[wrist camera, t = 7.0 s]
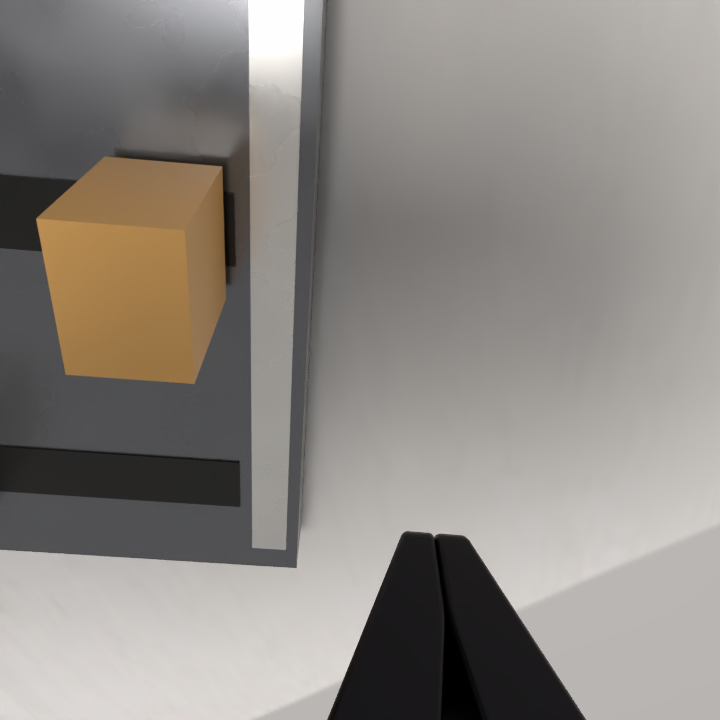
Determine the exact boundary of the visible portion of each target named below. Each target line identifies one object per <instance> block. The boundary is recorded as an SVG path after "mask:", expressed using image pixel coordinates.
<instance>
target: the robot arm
mask: <svg viewBox="0 0 720 720" xmlns="http://www.w3.org/2000/svg"><path fill="white" fill-rule="evenodd" d="M327 720H586V719H585V717H584V716H583V714H582V713H581V712H580V710H579V708H578V707H577V705H576V704H575V702H574V700H573V699H572V697H571V696H570V694H569V693H568V691H567V690H566V689H565V687H564V685H563V684H562V682H561V680H560V679H559V678H558V676H557V674H556V673H555V671H554V670H553V668H552V667H551V665H550V664H549V662H548V661H547V659H546V658H545V656H544V654H543V653H542V651H541V650H540V648H539V647H538V645H537V644H536V642H535V641H534V639H533V638H532V636H531V635H530V633H529V631H528V630H527V628H526V627H525V625H524V624H523V622H522V621H521V619H520V618H519V616H518V615H517V613H516V611H515V610H514V608H513V607H512V605H511V604H510V602H509V601H508V599H507V598H506V596H505V595H504V593H503V592H502V590H501V588H500V587H499V585H498V584H497V582H496V581H495V579H494V578H493V576H492V575H491V573H490V572H489V570H488V569H487V567H486V565H485V564H484V562H483V561H482V559H481V558H480V556H479V555H478V553H477V552H476V550H475V549H474V547H473V546H472V544H471V542H470V541H469V540H468V539H467V538H466V537H465V536H462V535H450V534H438V535H436V536H435V537H434V536H433V535H432V534H431V533H423V532H410V531H406V532H404V533H403V534H402V536H401V538H400V540H399V543H398V545H397V548H396V550H395V553H394V555H393V558H392V560H391V563H390V565H389V568H388V570H387V573H386V575H385V577H384V580H383V582H382V585H381V587H380V590H379V592H378V595H377V597H376V600H375V602H374V605H373V607H372V610H371V612H370V615H369V617H368V620H367V622H366V625H365V627H364V630H363V632H362V635H361V637H360V640H359V642H358V645H357V647H356V650H355V652H354V655H353V657H352V660H351V662H350V665H349V667H348V670H347V672H346V674H345V677H344V679H343V682H342V684H341V687H340V689H339V692H338V694H337V697H336V699H335V702H334V705H333V707H332V709H331V712H330V714H329V717H328V719H327Z"/></svg>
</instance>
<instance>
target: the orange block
mask: <svg viewBox="0 0 720 720" xmlns="http://www.w3.org/2000/svg"><path fill="white" fill-rule="evenodd" d="M36 221H37V226H38V231H39V236H40V242H41V247H42V252H43V258H44V263H45V268H46V273H47V279H48V284H49V289H50V295H51V300H52V305H53V310H54V316H55V321H56V326H57V332H58V337H59V342H60V347H61V353H62V358H63V363H64V369H65V374H66V375H77V376H91V377H105V378H119V379H132V380H146V381H160V382H174V383H188V384H195V381H196V378H197V376H198V373H199V370H200V368H201V365H202V362H203V360H204V357H205V354H206V351H207V349H208V346H209V343H210V341H211V338H212V335H213V333H214V330H215V327H216V325H217V322H218V319H219V317H220V314H221V311H222V308H223V306H224V303H225V300H226V275H225V241H224V206H223V172H222V166H211V165H199V164H187V163H176V162H164V161H152V160H140V159H128V158H116V157H104V158H103V159H102V160H100V161H99V162H98V163H97V164H96V165H95V166H94V167H93V168H92V169H90V170H89V171H88V172H87V173H86V174H85V175H84V176H83V177H82V178H80V179H79V180H78V181H77V182H76V183H75V184H74V185H73V186H72V187H70V188H69V189H68V190H67V191H66V192H65V193H64V194H63V195H62V196H61V197H59V198H58V199H57V200H56V201H55V202H54V203H53V204H52V205H51V206H49V207H48V208H47V209H46V210H45V211H44V212H43V213H42V214H41V215H39V216H38V217H37V218H36Z"/></svg>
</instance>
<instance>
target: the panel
mask: <svg viewBox="0 0 720 720" xmlns="http://www.w3.org/2000/svg"><path fill="white" fill-rule="evenodd" d="M326 12H327V0H0V550H16V551H32V552H48V553H64V554H80V555H96V556H112V557H129V558H145V559H161V560H177V561H193V562H209V563H225V564H241V565H257V566H273V567H289V568H296V566H297V557H298V548H299V539H300V530H301V513H302V493H303V473H304V453H305V433H306V412H307V392H308V372H309V352H310V332H311V312H312V292H313V272H314V252H315V232H316V212H317V192H318V172H319V152H320V132H321V112H322V92H323V72H324V52H325V32H326ZM104 157H116V158H128V159H140V160H152V161H164V162H176V163H187V164H199V165H211V166H222V172H223V206H224V241H225V275H226V300H225V303H224V306H223V308H222V311H221V314H220V317H219V319H218V322H217V325H216V327H215V330H214V333H213V335H212V338H211V341H210V343H209V346H208V349H207V351H206V354H205V357H204V360H203V362H202V365H201V368H200V370H199V373H198V376H197V378H196V381H195V384H188V383H174V382H160V381H146V380H132V379H119V378H105V377H91V376H77V375H66V374H65V369H64V363H63V358H62V353H61V347H60V342H59V337H58V332H57V326H56V321H55V316H54V310H53V305H52V300H51V295H50V289H49V284H48V279H47V273H46V268H45V263H44V258H43V252H42V247H41V242H40V236H39V231H38V226H37V221H36V218H37V217H38V216H39V215H41V214H42V213H43V212H44V211H45V210H46V209H47V208H48V207H49V206H51V205H52V204H53V203H54V202H55V201H56V200H57V199H58V198H59V197H61V196H62V195H63V194H64V193H65V192H66V191H67V190H68V189H69V188H70V187H72V186H73V185H74V184H75V183H76V182H77V181H78V180H79V179H80V178H82V177H83V176H84V175H85V174H86V173H87V172H88V171H89V170H90V169H92V168H93V167H94V166H95V165H96V164H97V163H98V162H99V161H100V160H102V159H103V158H104Z"/></svg>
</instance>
